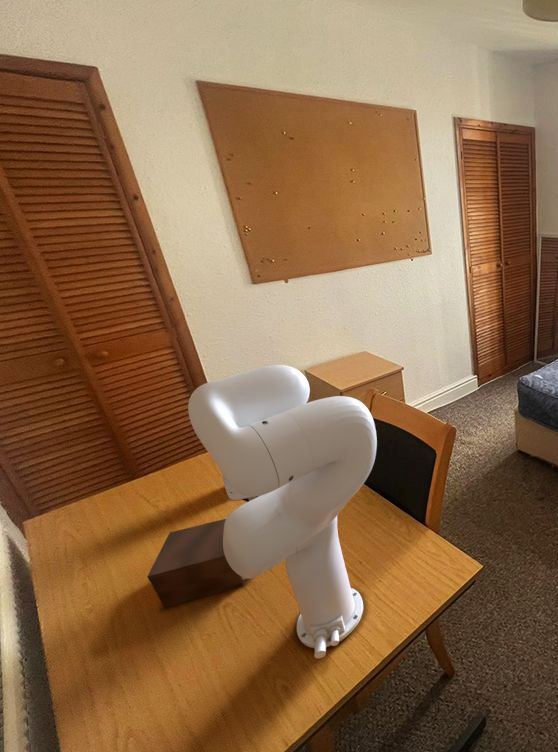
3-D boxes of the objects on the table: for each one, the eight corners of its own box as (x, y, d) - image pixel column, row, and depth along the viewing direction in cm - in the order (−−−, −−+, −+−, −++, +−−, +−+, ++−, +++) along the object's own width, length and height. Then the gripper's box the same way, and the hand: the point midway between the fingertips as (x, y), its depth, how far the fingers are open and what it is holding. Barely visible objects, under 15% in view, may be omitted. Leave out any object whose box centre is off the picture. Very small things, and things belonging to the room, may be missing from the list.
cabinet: (253, 543, 101) (242, 514, 97) (243, 585, 90) (230, 554, 86) (183, 562, 96) (169, 532, 92) (164, 608, 85) (147, 576, 82)
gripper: (196, 464, 80) (225, 535, 87) (280, 447, 84) (301, 515, 91) (207, 445, 86) (233, 513, 93) (285, 430, 91) (304, 495, 98)
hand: (267, 514), depth 92 cm, fingers closed
